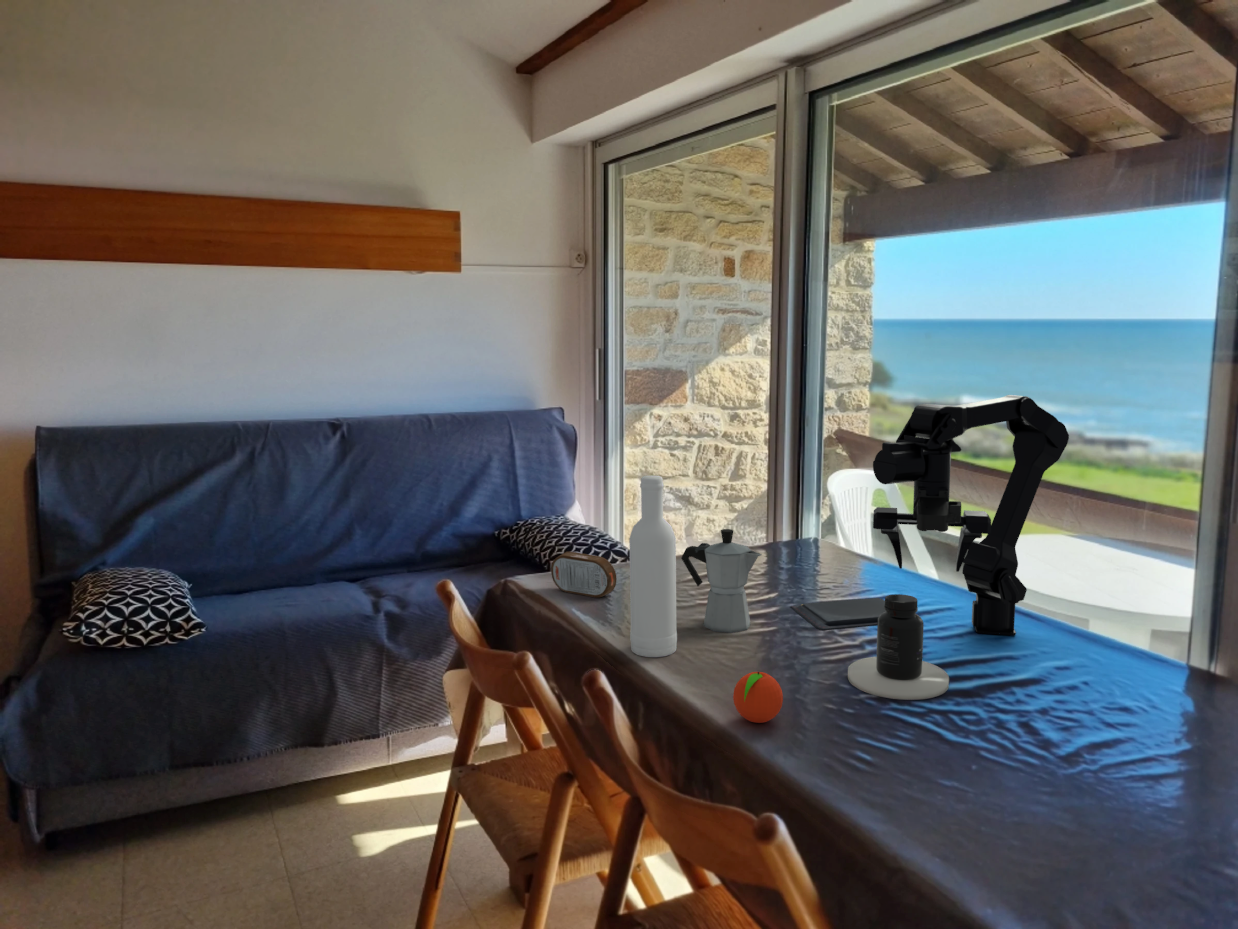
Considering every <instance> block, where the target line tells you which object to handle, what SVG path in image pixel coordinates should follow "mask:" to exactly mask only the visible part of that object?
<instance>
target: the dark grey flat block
mask: <svg viewBox="0 0 1238 929" xmlns="http://www.w3.org/2000/svg"><path fill="white" fill-rule="evenodd" d="M884 605H885V599H883V598H881V597H872V598H870V597H869V598H860V599H848V600H847V599H846V600H837V601H833V600H832V601H824V602H823V601H822V602H812V603H811V602H810V603H803V604H800V605H791V606H789V608H790V609H791V610H793V611H794V612H795V613H796V614H797V615H799V616H800V617H801V618H802V619H804V620H805V621H806V622H807V623H808V624H810V625H812V626H813V627H814V628H816V629H817V630H820V631H830V630H831V631H832V630H845V629H855V628H863V627H875V626H877V624H878V618H879V616H880V615H881V614H882V613H884V612H886V610H885V609H884Z"/></svg>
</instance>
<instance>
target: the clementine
mask: <svg viewBox="0 0 1238 929" xmlns="http://www.w3.org/2000/svg"><path fill="white" fill-rule="evenodd" d="M734 686H735V687H734V689H733V694H732V695H733V696H732V698H733V705H734V707H735V708H736V711H737V712H738V713H739V716H741V717H742V718H744V719H745V720H747V721H748V722H751V723H758V724H760V723H763V724H764V723H767V722H769V721H772V719H774V718H776V717H777V715H778V714H779V713H780V711H781V709H782V707H783V702H784V695H783V690H782V687H781V685H780V683H779V682H778V681H777V680H776V678H774V677H773V676H771V675H770V674H769V673H766V672H762V671H752V672H750V673H747V674H745V675H744V676H742V677H741V678H740V679H739V680H738V681H737V683H736V684H735V685H734Z"/></svg>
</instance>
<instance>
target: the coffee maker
mask: <svg viewBox="0 0 1238 929" xmlns="http://www.w3.org/2000/svg"><path fill="white" fill-rule="evenodd" d="M720 534H721V541H722V542H718V543H713V544H709V543H708V542H702V543H700V544H699V545H697V546H695V545H691V546H687V547H686V548H685V550H684V552H683V554H682V556H681V557H680V558H681V561H682V562H683V564H684V566H685V567H686V569H687V570H688V572H689V574H690V575H691V577H692V579H693V581H694V583H695V584H696V586H697V587H700V585H702V583H703V580H702V578H701V576H700V575H699V573H698V572H697V570H696V568H695V567H694V565H693V563H692V562H691V560H690V557H692V558H694V559H695V560H698V561H700V562H703V563H705V569H706V574H707V576H706V577H707V582H708V583H709V585H710V589H709V590H708V595H707V601H706V608H705V613H704V614H705V615H704V621H703V627H705V628H706V629H708V630H711V631H712V632H718V633H727V634H728V633H730V634H732V633H738V632H744V631H747V630H748V629H749V628H750V626H751V618H750V612H749V604H748V598H747V594H746V593H747V592H746V589H745V586H746V585H747V584H748V578H749V573H750V571H751V570H752V568H753V567H754V565H755V562H756V561H757V559H758V557H760V556H762V553H759V552H757V551H755V550H752V549H750V547H749V546H748V545H745V544H741V543H736V542H733V536H734V530H733V529H731V528H730V529H729V528H722V529H720Z"/></svg>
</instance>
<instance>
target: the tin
mask: <svg viewBox="0 0 1238 929" xmlns="http://www.w3.org/2000/svg"><path fill="white" fill-rule="evenodd" d="M550 568H551V569H550V571H551V578H552V581H553V583H554V585H555V586H557V587H558V589H559V590H561V591H563V592H565V593H568V594H574V595H579V596H583V597H591V598H595V599H597V598H598V599H600V598H602V597H605V596H606V595H609V594H611V593H612V592H613V591H614V590H615V588H616V585H617V581H618V580H617V578H618V577H617V573H616V570H615V567H614V566H613V565H612V563H611V562H610V561H609V560H608V559H606V558H605V557H603V556H599V555H594V554H593V555H592V554H587V553H580V552H576V551H575V552H574V551H565V552H563V553H562V554H560V555H558V556H557V557H555V558H554V560H553V561H552V562H551V567H550Z"/></svg>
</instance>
